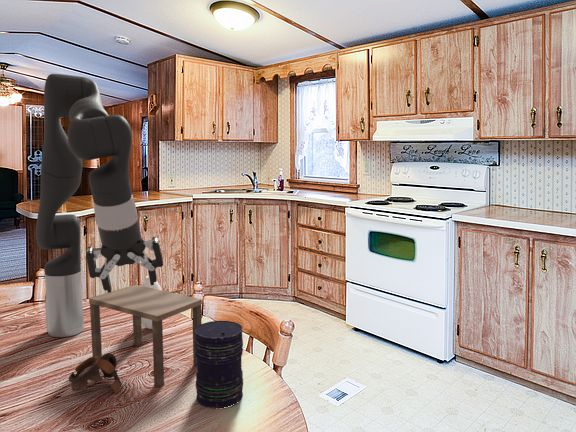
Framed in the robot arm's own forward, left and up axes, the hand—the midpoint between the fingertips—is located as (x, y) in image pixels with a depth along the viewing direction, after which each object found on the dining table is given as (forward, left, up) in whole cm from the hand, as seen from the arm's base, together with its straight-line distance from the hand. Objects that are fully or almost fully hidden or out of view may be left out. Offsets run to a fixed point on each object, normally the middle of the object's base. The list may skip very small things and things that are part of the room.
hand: (131, 286), depth 102 cm
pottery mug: (-8, -3, -23) cm, 25 cm away
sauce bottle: (-25, +28, -23) cm, 44 cm away
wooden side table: (-8, +11, -23) cm, 27 cm away
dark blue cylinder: (+17, +8, -23) cm, 30 cm away
